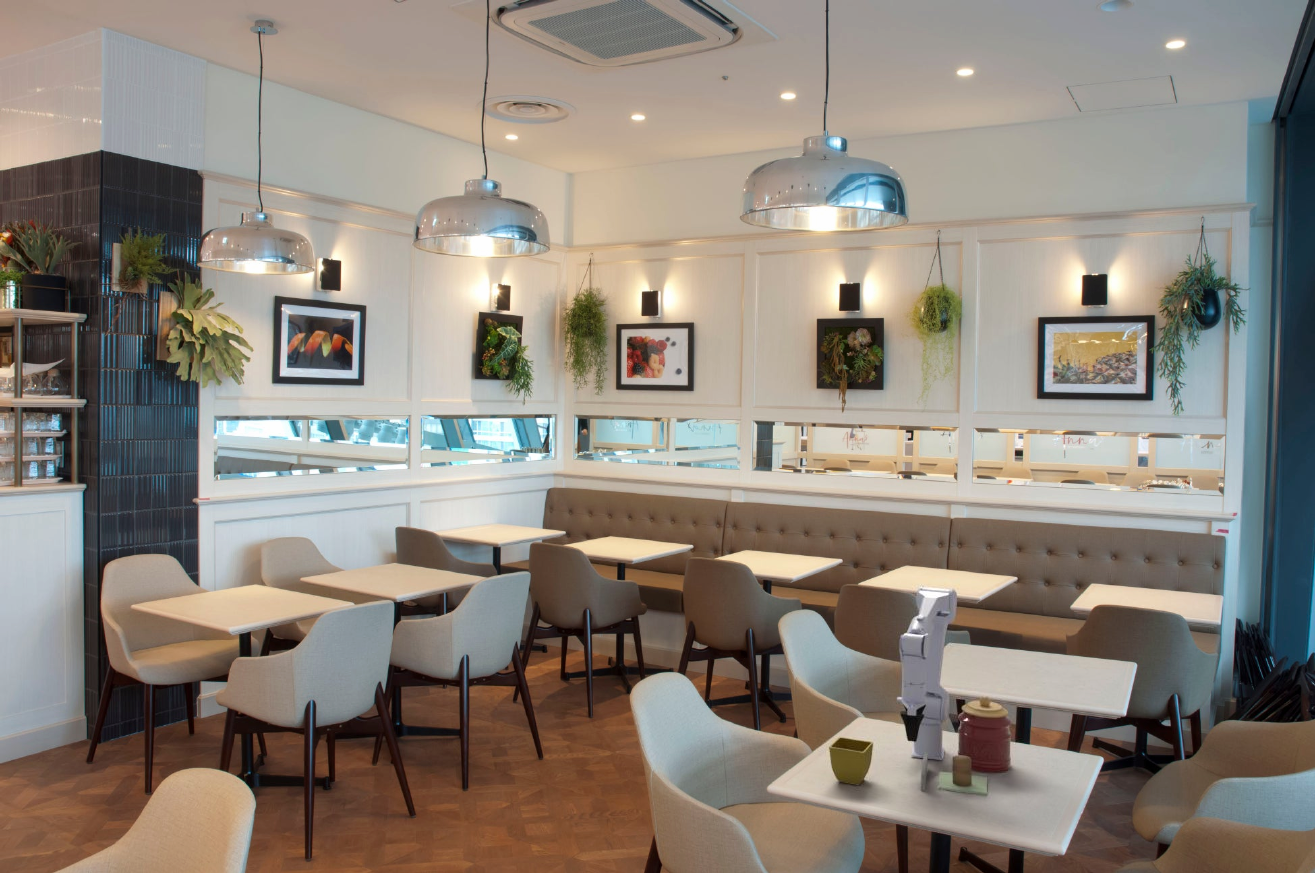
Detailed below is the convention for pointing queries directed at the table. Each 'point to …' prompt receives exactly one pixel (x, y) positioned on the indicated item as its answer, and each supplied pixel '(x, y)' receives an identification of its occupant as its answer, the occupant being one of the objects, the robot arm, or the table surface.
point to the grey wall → (924, 771)
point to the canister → (985, 736)
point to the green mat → (976, 788)
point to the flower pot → (850, 759)
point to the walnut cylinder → (961, 770)
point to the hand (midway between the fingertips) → (913, 736)
